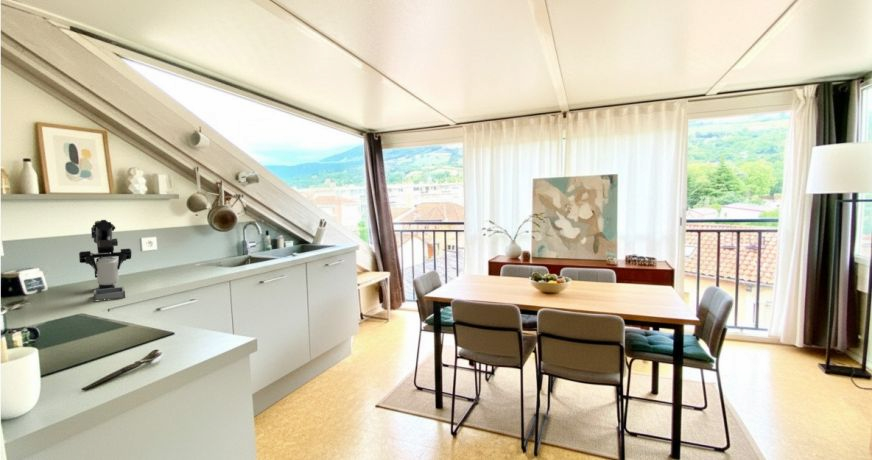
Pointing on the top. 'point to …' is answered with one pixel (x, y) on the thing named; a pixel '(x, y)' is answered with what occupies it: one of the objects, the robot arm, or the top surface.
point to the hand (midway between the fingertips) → (107, 270)
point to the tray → (109, 293)
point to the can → (107, 271)
